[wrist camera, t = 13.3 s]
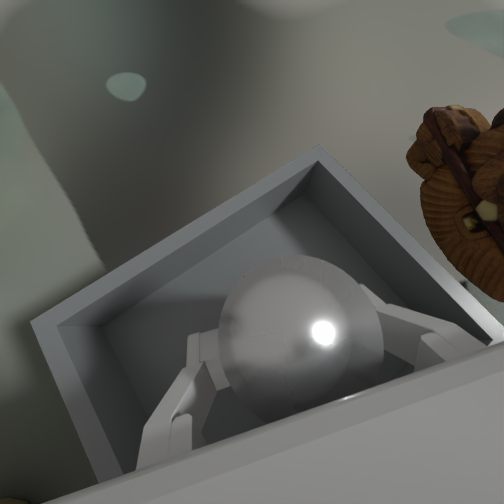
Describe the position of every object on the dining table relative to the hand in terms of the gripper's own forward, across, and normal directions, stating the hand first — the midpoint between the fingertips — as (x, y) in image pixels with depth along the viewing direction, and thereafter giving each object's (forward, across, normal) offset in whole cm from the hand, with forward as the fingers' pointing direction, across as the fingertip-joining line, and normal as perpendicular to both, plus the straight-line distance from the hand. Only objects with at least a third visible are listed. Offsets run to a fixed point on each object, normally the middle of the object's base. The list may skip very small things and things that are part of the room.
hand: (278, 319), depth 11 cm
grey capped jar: (+3, 0, +4) cm, 4 cm away
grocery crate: (+4, 0, +5) cm, 7 cm away
